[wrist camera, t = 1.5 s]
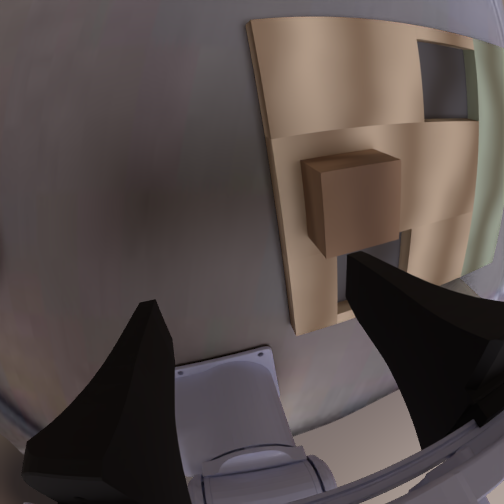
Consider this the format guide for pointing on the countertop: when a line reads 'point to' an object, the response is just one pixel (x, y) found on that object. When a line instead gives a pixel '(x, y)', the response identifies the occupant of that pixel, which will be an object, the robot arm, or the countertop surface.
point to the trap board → (382, 143)
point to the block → (352, 200)
